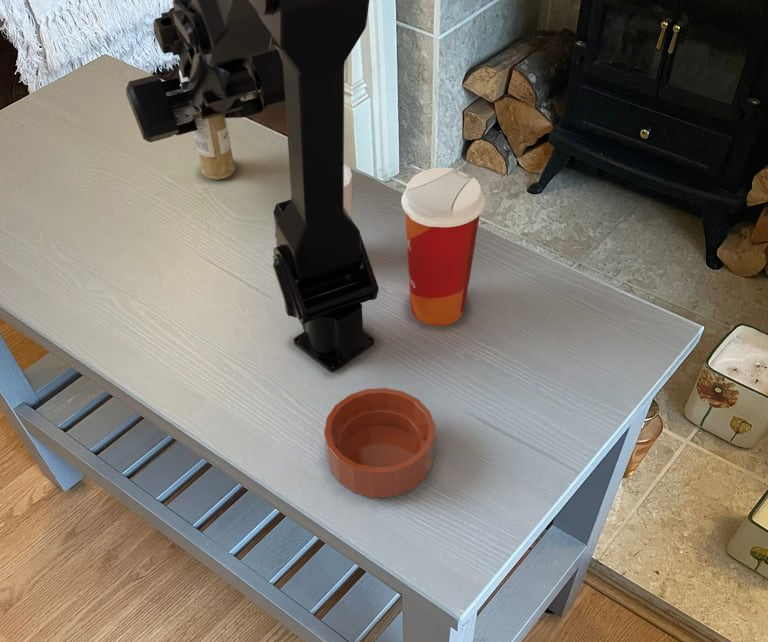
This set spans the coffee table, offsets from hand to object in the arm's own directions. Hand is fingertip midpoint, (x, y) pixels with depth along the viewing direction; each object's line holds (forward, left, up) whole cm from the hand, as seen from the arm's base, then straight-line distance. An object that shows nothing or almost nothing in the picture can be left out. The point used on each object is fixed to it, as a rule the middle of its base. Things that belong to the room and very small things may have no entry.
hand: (205, 117), depth 102 cm
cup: (-25, +2, -7) cm, 26 cm away
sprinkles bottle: (-1, 0, -7) cm, 7 cm away
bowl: (-51, +19, -7) cm, 55 cm away
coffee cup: (-40, -1, -7) cm, 41 cm away
